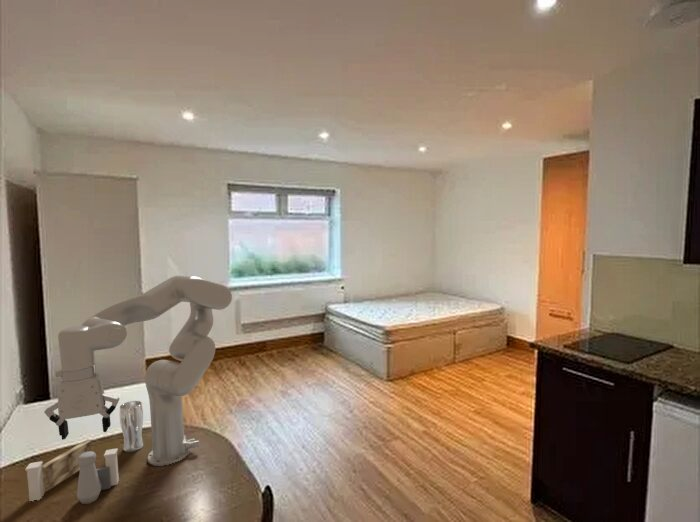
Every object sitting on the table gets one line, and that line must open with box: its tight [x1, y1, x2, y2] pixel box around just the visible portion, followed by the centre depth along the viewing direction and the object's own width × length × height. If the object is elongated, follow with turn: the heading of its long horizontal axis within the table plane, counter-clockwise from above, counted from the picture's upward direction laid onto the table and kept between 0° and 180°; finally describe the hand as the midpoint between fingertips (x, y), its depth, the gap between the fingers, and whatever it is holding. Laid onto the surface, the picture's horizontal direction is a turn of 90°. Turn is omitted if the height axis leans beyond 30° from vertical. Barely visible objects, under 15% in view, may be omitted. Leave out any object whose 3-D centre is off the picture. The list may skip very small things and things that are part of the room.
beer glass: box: [119, 400, 144, 453], centre depth 139 cm, size 7×7×15 cm
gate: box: [42, 439, 93, 492], centre depth 122 cm, size 15×2×7 cm, turn 164°
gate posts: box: [25, 448, 120, 502], centre depth 116 cm, size 22×4×10 cm, turn 109°
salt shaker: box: [76, 450, 102, 505], centre depth 112 cm, size 6×6×13 cm
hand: (86, 433), depth 112 cm, fingers open, 9 cm apart
